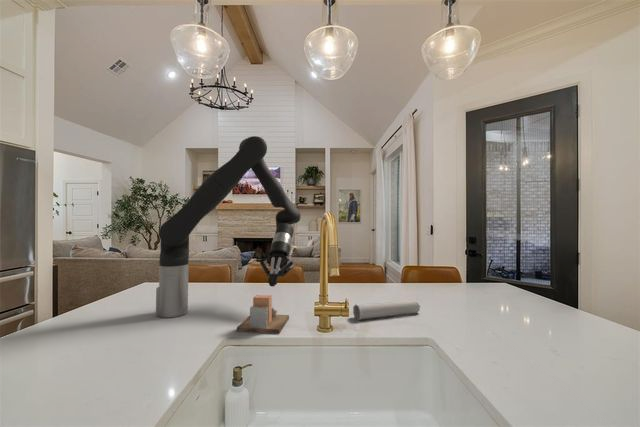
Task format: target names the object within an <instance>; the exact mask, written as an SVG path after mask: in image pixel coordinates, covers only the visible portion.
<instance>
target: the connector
mask: <svg viewBox="0 0 640 427" xmlns="http://www.w3.org/2000/svg"><path fill="white" fill-rule="evenodd" d="M249 316H250V328H258V329H267V327H268V306H253V305H251V306H250V307H249Z"/></svg>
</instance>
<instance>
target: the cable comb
mask: <svg viewBox="0 0 640 427" xmlns="http://www.w3.org/2000/svg"><path fill="white" fill-rule="evenodd" d="M277 315H278V309H277V308H276V307H275V306H272V316H277Z"/></svg>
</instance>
